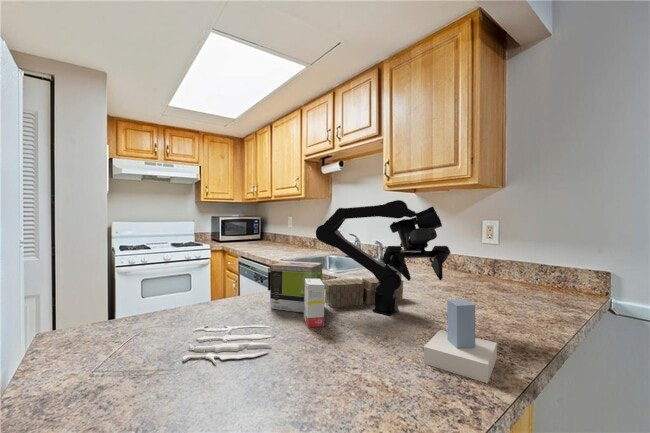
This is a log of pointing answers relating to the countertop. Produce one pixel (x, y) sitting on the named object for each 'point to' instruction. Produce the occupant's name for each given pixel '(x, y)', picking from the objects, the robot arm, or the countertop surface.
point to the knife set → (219, 345)
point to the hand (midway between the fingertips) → (425, 279)
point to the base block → (461, 357)
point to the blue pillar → (461, 323)
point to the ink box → (314, 303)
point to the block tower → (353, 291)
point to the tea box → (291, 284)
